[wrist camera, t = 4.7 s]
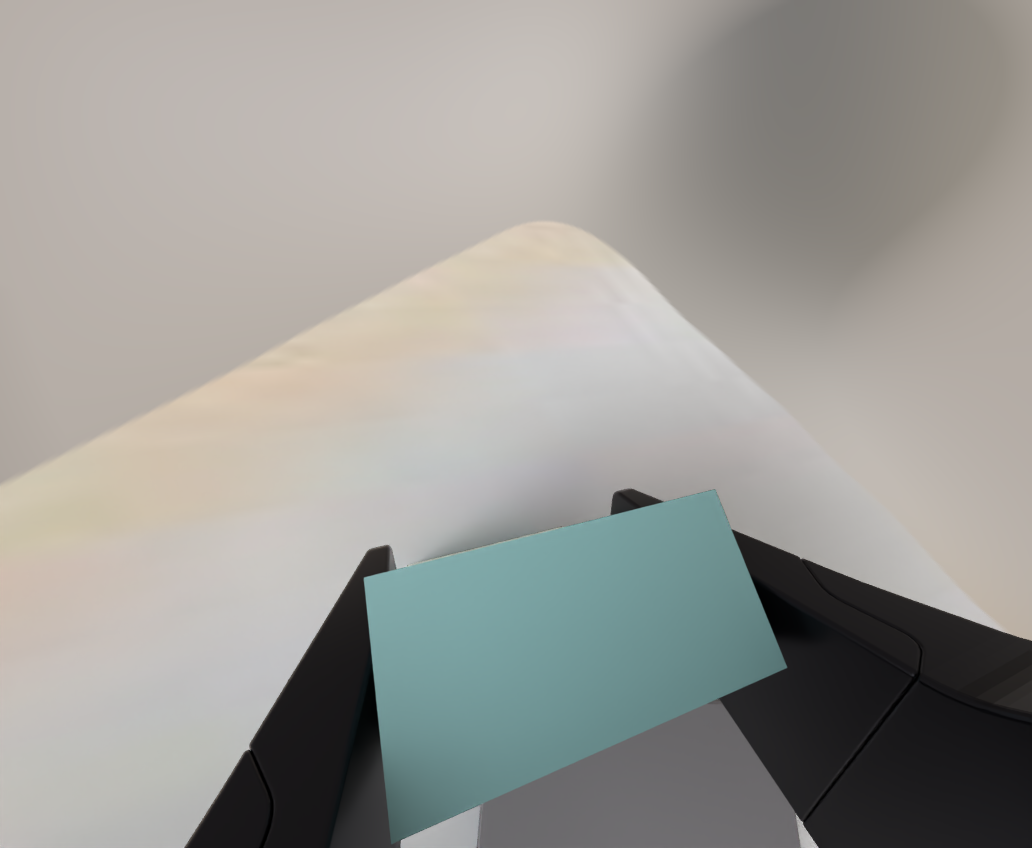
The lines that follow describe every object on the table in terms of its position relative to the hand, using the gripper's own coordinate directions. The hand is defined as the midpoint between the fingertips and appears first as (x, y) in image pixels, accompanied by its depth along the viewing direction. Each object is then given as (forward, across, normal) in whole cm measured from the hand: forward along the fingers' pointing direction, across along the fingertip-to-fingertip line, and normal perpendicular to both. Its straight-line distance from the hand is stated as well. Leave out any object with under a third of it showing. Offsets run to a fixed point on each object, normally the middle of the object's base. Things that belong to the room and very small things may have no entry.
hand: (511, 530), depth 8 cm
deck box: (+4, 0, +6) cm, 7 cm away
